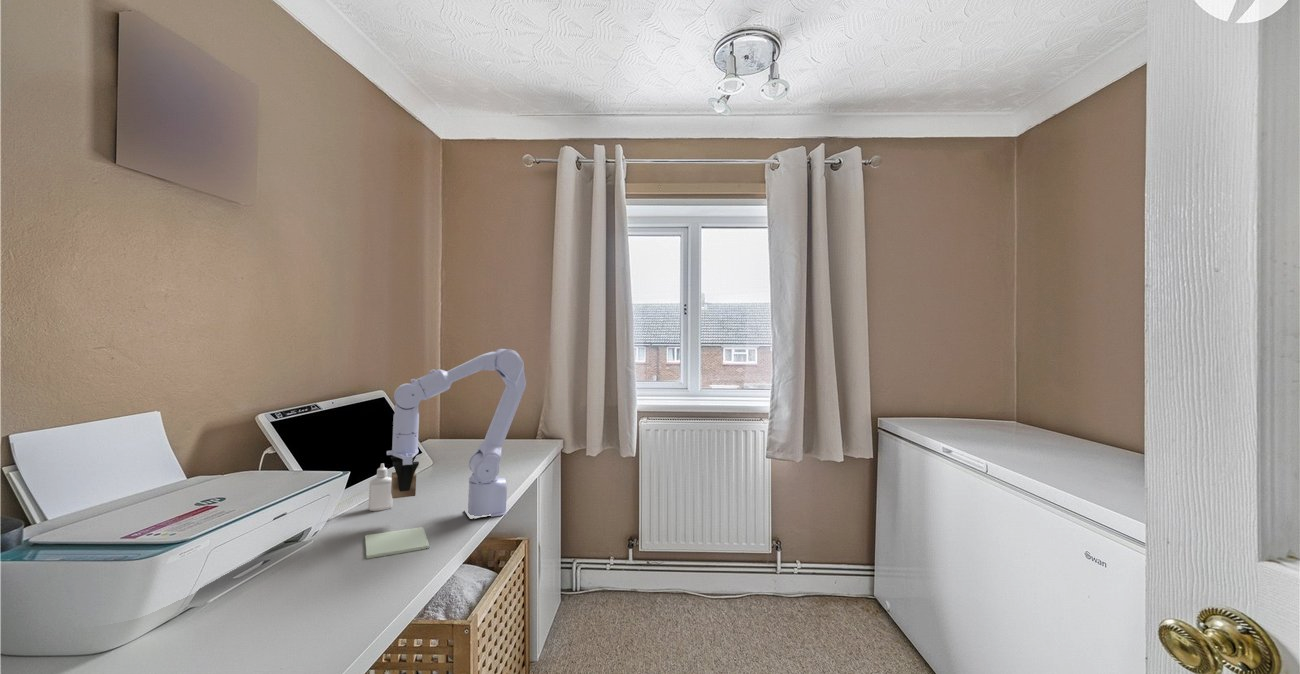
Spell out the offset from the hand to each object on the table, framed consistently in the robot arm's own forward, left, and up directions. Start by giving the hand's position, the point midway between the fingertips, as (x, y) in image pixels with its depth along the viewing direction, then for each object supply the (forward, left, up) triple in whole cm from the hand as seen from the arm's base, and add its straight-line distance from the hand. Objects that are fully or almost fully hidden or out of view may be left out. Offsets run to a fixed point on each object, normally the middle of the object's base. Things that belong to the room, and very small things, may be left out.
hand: (403, 487), depth 122 cm
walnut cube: (0, 0, -2) cm, 2 cm away
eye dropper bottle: (+4, -14, -9) cm, 17 cm away
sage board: (+2, +12, -9) cm, 15 cm away
